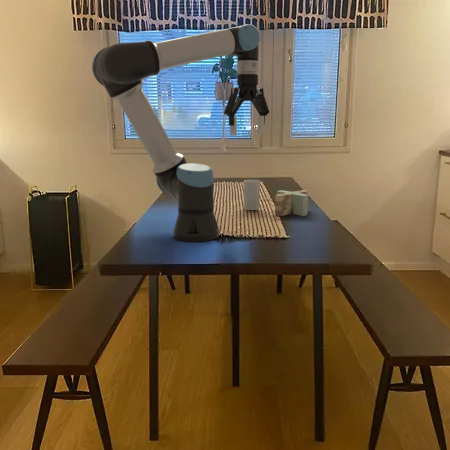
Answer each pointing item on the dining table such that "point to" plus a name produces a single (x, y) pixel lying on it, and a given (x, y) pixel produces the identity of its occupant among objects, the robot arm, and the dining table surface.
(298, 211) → the grey-green block
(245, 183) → the mug
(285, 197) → the u-shaped wooden block
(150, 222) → the dining table surface
